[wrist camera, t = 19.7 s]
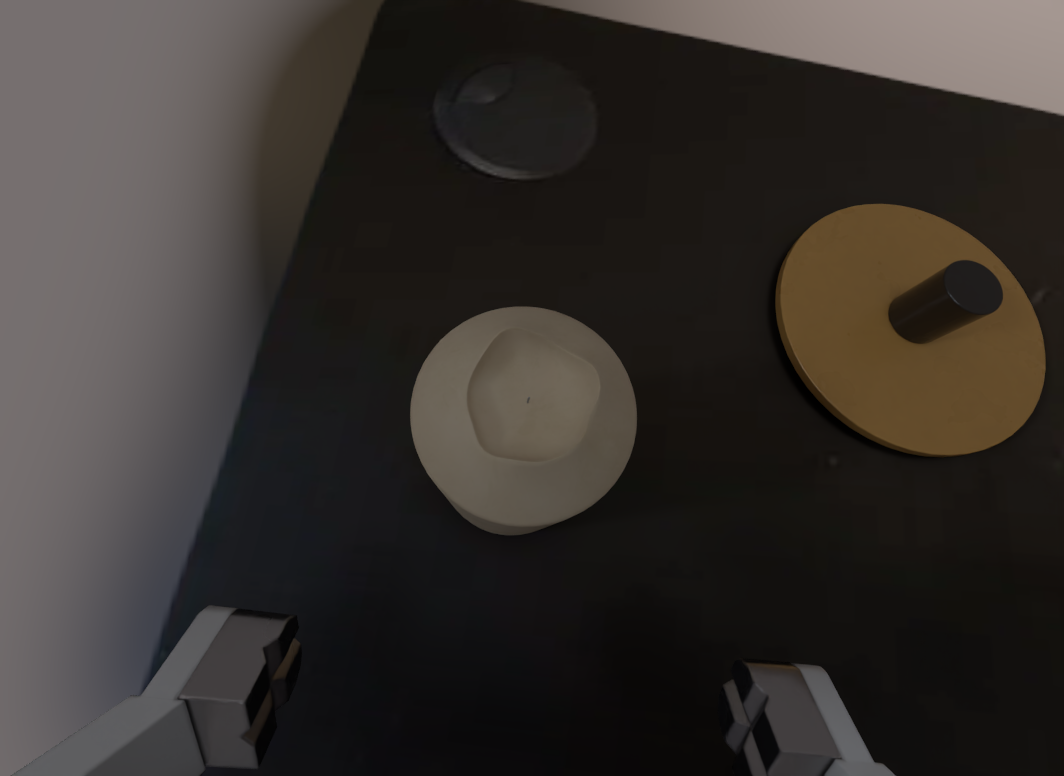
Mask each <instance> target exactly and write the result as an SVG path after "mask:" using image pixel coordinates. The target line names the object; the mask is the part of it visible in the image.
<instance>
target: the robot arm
mask: <svg viewBox="0 0 1064 776" xmlns="http://www.w3.org/2000/svg"><path fill="white" fill-rule="evenodd" d="M298 629H299V626H298V620H297V615H288V614H280V613H271V612H263V611H254V610H246V609H239V608H230V607H220V606H210V605H209V606H207V607H206V608H205V609H204V610H203V611H201V612H200V613H199V614H198V615H197V617H196V618H195V619H194V621H193V622H192V624H191V625H190V627H189V628H188V629H187V631H186V632H185V634H184V635H183V636H182V638H181V639H180V641H179V642H178V644H177V645H176V646H175V648H174V649H173V651H172V652H171V654H170V655H169V656H168V658H167V659H166V661H165V662H164V663H163V665H162V666H161V668H160V669H159V671H158V672H157V673H156V675H155V676H154V678H153V679H152V680H151V682H150V683H149V685H148V686H147V688H146V689H145V690H144V692H143V693H142V695H141V696H134V695H131V696H130V697H128V698H127V699H125V700H124V701H122V702H121V703H119V704H118V705H116V706H115V707H113V708H112V709H110V710H109V711H107V712H106V713H104V714H103V715H101V716H100V717H98V718H97V719H95V720H94V721H92V722H91V723H89V724H88V725H86V726H85V727H83V728H82V729H80V730H79V731H77V732H76V733H74V734H73V735H71V736H70V737H68V738H67V739H65V740H64V741H62V742H61V743H59V744H58V745H56V746H55V747H53V748H52V749H50V750H49V751H47V752H46V753H44V754H43V755H41V756H40V757H38V758H37V759H35V760H34V761H32V762H31V763H29V764H28V765H26V766H25V767H23V768H22V769H20V770H19V771H17V772H16V773H14V774H13V775H11V776H199V775H201V774H202V773H203V772H204V771H205V766H211V767H229V768H248V769H259V766H260V764H261V762H262V760H263V757H264V755H265V753H266V751H267V748H268V746H269V744H270V742H271V739H272V737H273V735H274V733H275V730H276V728H277V723H276V717H275V711H276V710H278V709H279V708H280V707H281V706H282V705H284V704H285V703H286V702H287V701H289V698H290V696H291V694H292V691H293V689H294V687H295V684H296V681H297V677H298V673H299V670H300V666H301V657H302V650H301V644H300V643H299V642H298V641H297V640H296V639H295V638H294V637H295V635H296V633H297V631H298ZM731 673H732V676H733V679H732V680H731V681H729V682H727V683H726V684H724V685H723V687H722V689H721V692H720V694H719V698H718V717H719V723H720V728H721V731H722V735H723V738H724V741H725V742H726V743H727V744H728V745H729V747H730V748H731V749H732V750H733V751H734V752H735V753H736V757H735V760H734V763H733V766H732V769H733V772H734V775H735V776H895V775H894V774H893V773H892V772H891V771H890V770H889V769H888V768H887V767H886V766H885V765H884V764H882V763H875V762H874V761H873V759H872V757H871V755H870V753H869V751H868V750H867V748H866V746H865V744H864V742H863V740H862V738H861V736H860V734H859V733H858V731H857V729H856V727H855V725H854V723H853V721H852V719H851V717H850V716H849V714H848V712H847V710H846V708H845V706H844V704H843V702H842V700H841V699H840V697H839V695H838V693H837V691H836V689H835V687H834V685H833V683H832V682H831V680H830V678H829V676H828V674H827V672H826V671H825V670H824V669H823V668H822V667H820V666H816V665H805V664H791V663H790V662H780V661H768V660H756V659H743V658H740V659H738V660H736V661H735V662H734V664H733V666H732V668H731Z"/></svg>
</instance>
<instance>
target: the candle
mask: <svg viewBox="0 0 1064 776" xmlns="http://www.w3.org/2000/svg"><path fill="white" fill-rule="evenodd" d="M410 420H411V430H412V436H413V440H414V444H415V448H416V450H417V453H418V455H419V458H420V460H421V463H422V464H423V466H424V468H425V470H426V471H427V473H428V475H429V476H430V478H431V479H432V480H433V481H434V483H435V484H436V485H437V487H438V488H439V489H440V491H441V492H442V493H443V494H444V495H445V497H446V498H447V499H448V500H449V502H450V503H451V504H452V505H453V506H454V508H455V509H456V510H457V511H458V512H459V513H460V514H461V515H462V516H463V517H464V518H465V519H467V520H468V521H469V522H471V523H472V524H474V525H475V526H477V527H479V528H481V529H483V530H486V531H488V532H492V533H496V534H501V535H521V534H527V533H531V532H534V531H537V530H540V529H543V528H545V527H548V526H550V525H553V524H556V523H558V522H561V521H563V520H566V519H568V518H570V517H572V516H574V515H577V514H579V513H581V512H583V511H584V510H586V509H587V508H589V507H590V506H592V505H593V504H595V503H596V502H597V501H598V500H599V499H600V498H602V497H603V496H604V495H605V494H606V493H607V492H608V491H609V489H610V488H611V487H612V486H613V485H614V484H615V483H616V481H617V480H618V478H619V476H620V475H621V473H622V472H623V470H624V468H625V466H626V464H627V462H628V460H629V458H630V455H631V452H632V448H633V445H634V441H635V435H636V429H637V410H636V400H635V396H634V392H633V388H632V385H631V382H630V379H629V377H628V374H627V372H626V370H625V368H624V366H623V365H622V363H621V361H620V360H619V358H618V357H617V355H616V354H615V352H614V351H613V350H612V349H611V347H610V346H609V345H608V344H607V343H606V342H605V341H604V340H603V339H602V338H601V337H600V336H599V335H597V334H596V333H595V332H594V331H593V330H591V329H590V328H588V327H587V326H585V325H584V324H582V323H581V322H579V321H577V320H575V319H573V318H571V317H569V316H566V315H564V314H561V313H558V312H555V311H551V310H547V309H543V308H535V307H508V308H501V309H496V310H492V311H488V312H485V313H483V314H480V315H477V316H475V317H473V318H471V319H469V320H467V321H465V322H463V323H462V324H460V325H459V326H457V327H456V328H454V329H453V330H452V331H450V332H449V333H448V334H447V335H446V336H445V337H444V338H443V339H441V340H440V342H439V343H438V344H437V345H436V346H435V347H434V349H433V350H432V351H431V352H430V354H429V356H428V357H427V359H426V360H425V362H424V363H423V366H422V368H421V370H420V372H419V374H418V376H417V379H416V383H415V386H414V389H413V394H412V400H411V413H410Z"/></svg>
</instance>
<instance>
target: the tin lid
mask: <svg viewBox="0 0 1064 776" xmlns="http://www.w3.org/2000/svg"><path fill="white" fill-rule="evenodd" d="M775 308H776V317H777V324H778V328H779V332H780V336H781V339H782V342H783V345H784V347H785V350H786V352H787V355H788V357H789V359H790V361H791V363H792V364H793V366H794V368H795V370H796V372H797V373H798V375H799V376H800V378H801V379H802V381H803V382H804V384H805V385H806V387H807V388H808V389H809V390H810V391H811V393H812V394H813V395H814V396H815V397H816V398H817V400H818V401H819V402H820V403H821V404H822V405H823V406H824V407H825V408H826V409H828V410H829V411H830V412H831V413H832V414H833V415H834V416H835V417H836V418H838V419H839V420H840V421H842V422H843V423H844V424H846V425H847V426H848V427H850V428H851V429H853V430H854V431H856V432H858V433H859V434H861V435H863V436H865V437H866V438H868V439H870V440H872V441H875V442H877V443H879V444H881V445H883V446H886V447H889V448H892V449H895V450H898V451H901V452H904V453H909V454H914V455H920V456H928V457H951V456H961V455H966V454H970V453H974V452H978V451H983V450H985V449H988V448H990V447H992V446H995V445H997V444H999V443H1001V442H1002V441H1004V440H1005V439H1007V438H1008V437H1010V436H1012V435H1013V434H1014V433H1015V432H1016V431H1017V430H1018V429H1019V428H1020V427H1021V426H1022V425H1023V424H1024V423H1025V422H1026V420H1027V419H1028V418H1029V416H1030V415H1031V414H1032V412H1033V410H1034V408H1035V406H1036V404H1037V402H1038V400H1039V398H1040V394H1041V391H1042V388H1043V384H1044V377H1045V369H1046V368H1045V348H1044V342H1043V336H1042V333H1041V329H1040V326H1039V322H1038V319H1037V317H1036V314H1035V312H1034V310H1033V307H1032V305H1031V303H1030V301H1029V299H1028V298H1027V296H1026V294H1025V292H1024V290H1023V289H1022V287H1021V286H1020V284H1019V283H1018V282H1017V280H1016V279H1015V277H1014V276H1013V275H1012V273H1011V272H1010V271H1009V270H1008V269H1007V267H1006V266H1005V265H1004V264H1003V263H1002V262H1001V261H1000V260H999V259H998V258H997V257H996V256H995V255H994V254H993V253H992V252H991V251H990V250H989V249H988V248H987V247H986V246H984V245H983V244H982V243H981V242H979V241H978V240H977V239H976V238H974V237H973V236H971V235H970V234H968V233H967V232H965V231H964V230H962V229H961V228H959V227H957V226H955V225H953V224H952V223H950V222H948V221H946V220H944V219H942V218H939V217H937V216H934V215H932V214H930V213H927V212H923V211H920V210H917V209H914V208H909V207H904V206H899V205H889V204H865V205H859V206H852V207H849V208H845V209H842V210H839V211H836V212H834V213H832V214H830V215H827V216H825V217H824V218H822V219H821V220H819V221H817V222H816V223H814V224H813V225H812V226H811V227H810V228H809V229H808V230H806V231H805V232H804V233H803V234H802V235H801V236H800V237H799V238H798V239H797V241H796V242H795V243H794V245H793V246H792V247H791V248H790V250H789V252H788V254H787V255H786V257H785V259H784V261H783V263H782V266H781V269H780V272H779V275H778V280H777V286H776V297H775Z"/></svg>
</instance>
